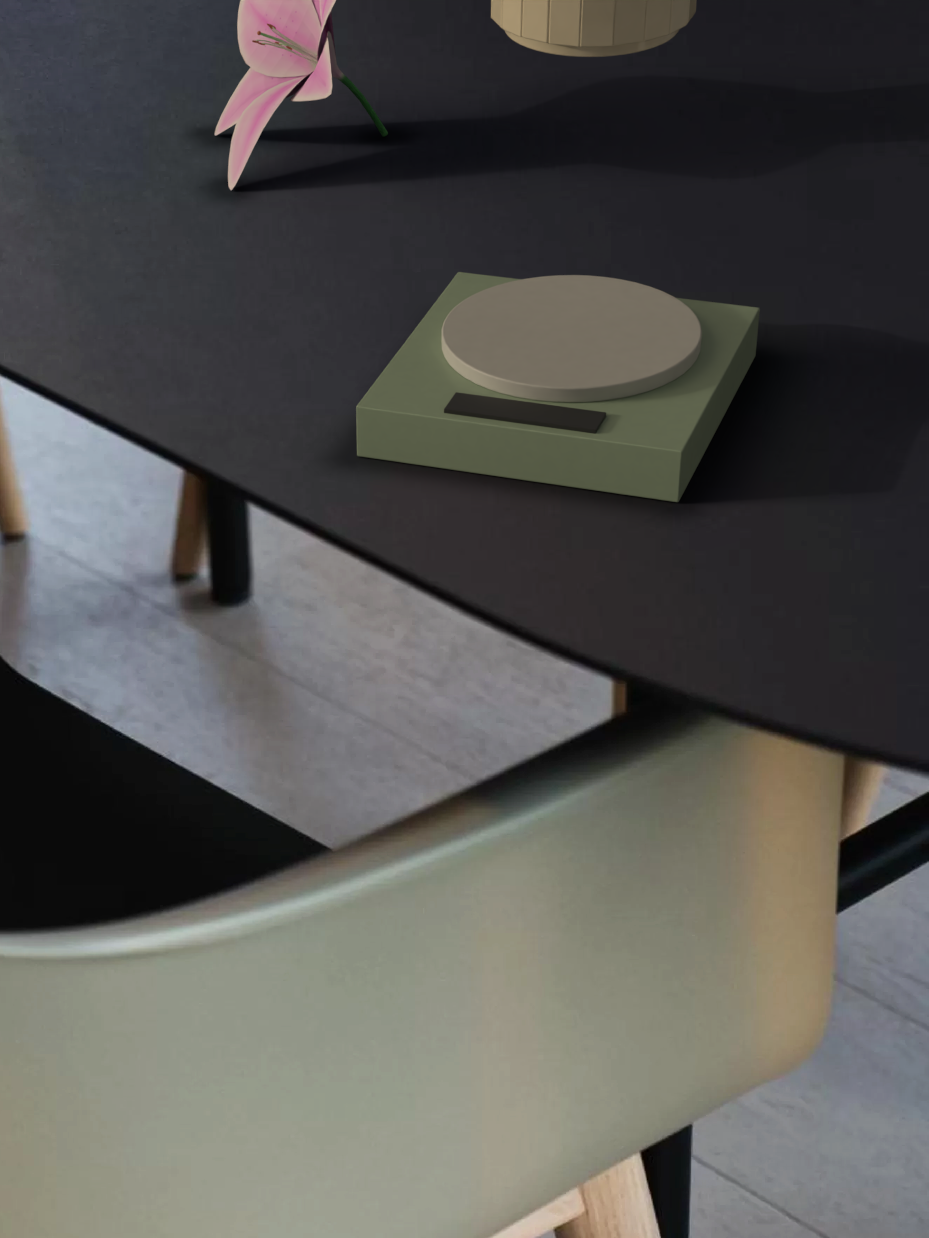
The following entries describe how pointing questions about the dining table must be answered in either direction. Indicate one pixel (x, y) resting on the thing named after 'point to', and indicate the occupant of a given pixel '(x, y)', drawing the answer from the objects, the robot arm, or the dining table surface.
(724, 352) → the scale
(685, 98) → the dining table surface
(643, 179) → the dining table surface
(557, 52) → the tan faceted cup
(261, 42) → the lily
